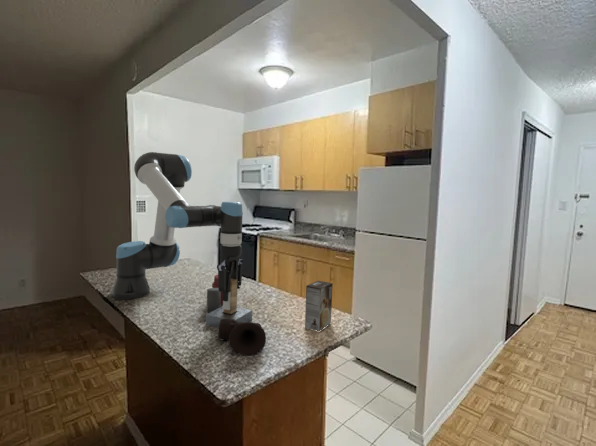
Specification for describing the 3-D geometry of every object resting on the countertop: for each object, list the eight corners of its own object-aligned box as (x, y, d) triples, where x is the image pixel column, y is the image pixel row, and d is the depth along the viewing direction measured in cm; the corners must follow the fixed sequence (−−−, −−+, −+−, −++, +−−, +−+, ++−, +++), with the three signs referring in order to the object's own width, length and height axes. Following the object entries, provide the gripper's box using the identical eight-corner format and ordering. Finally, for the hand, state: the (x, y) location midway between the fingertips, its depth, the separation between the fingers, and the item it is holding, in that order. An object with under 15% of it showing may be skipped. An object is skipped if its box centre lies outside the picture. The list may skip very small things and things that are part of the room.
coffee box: (316, 320, 129) (318, 279, 128) (331, 324, 126) (333, 282, 124) (304, 328, 121) (305, 285, 120) (319, 333, 118) (321, 288, 116)
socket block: (205, 325, 121) (206, 314, 120) (225, 314, 132) (226, 304, 131) (233, 332, 116) (233, 320, 116) (252, 320, 127) (252, 310, 127)
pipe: (222, 311, 114) (216, 321, 100) (266, 314, 116) (267, 324, 101) (219, 340, 114) (213, 354, 99) (263, 343, 115) (264, 357, 100)
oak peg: (223, 312, 123) (224, 280, 121) (228, 309, 126) (229, 278, 124) (231, 314, 121) (231, 281, 120) (236, 311, 124) (237, 279, 123)
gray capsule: (204, 312, 133) (204, 290, 132) (212, 308, 138) (212, 287, 137) (214, 315, 131) (215, 292, 130) (222, 310, 135) (223, 289, 135)
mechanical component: (238, 299, 151) (229, 306, 141) (217, 296, 153) (207, 303, 143) (239, 272, 149) (230, 277, 140) (218, 270, 151) (208, 275, 142)
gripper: (226, 248, 112) (224, 316, 114) (252, 242, 127) (250, 302, 129) (207, 246, 115) (207, 312, 117) (235, 240, 130) (234, 299, 132)
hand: (230, 307), depth 123 cm, fingers closed on oak peg, 3 cm apart
